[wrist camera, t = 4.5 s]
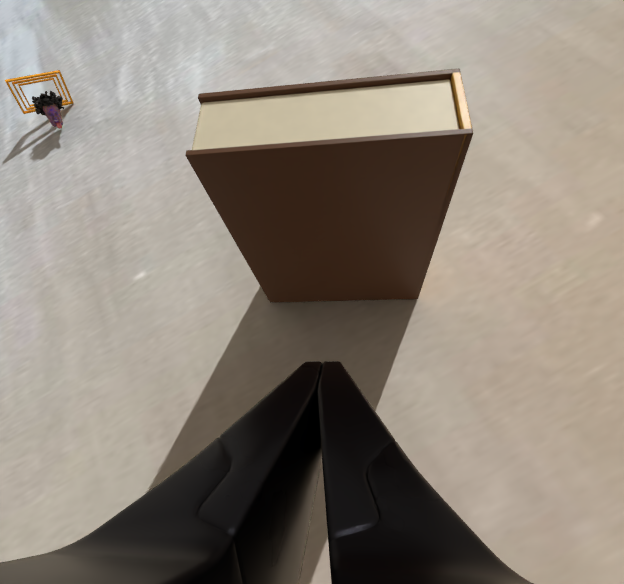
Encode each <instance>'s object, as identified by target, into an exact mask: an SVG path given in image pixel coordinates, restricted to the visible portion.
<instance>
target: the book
mask: <svg viewBox="0 0 624 584" xmlns="http://www.w3.org/2000/svg"><path fill="white" fill-rule="evenodd" d="M198 99H199V101H200V104H201V108H200V113H199V118H198V123H197V128H196V132H195V137H194V142H193V147H192V150H188V151H186V157H187V159H188V161H189V162H190V164H191V166H192V168H193V169H194V171H195V173H196V175H197V176H198V178H199V180H200V181H201V183H202V185H203V187H204V188H205V190H206V192H207V194H208V195H209V197H210V199H211V201H212V202H213V204H214V206H215V208H216V209H217V211H218V213H219V214H220V216H221V218H222V220H223V221H224V223H225V225H226V227H227V228H228V230H229V232H230V234H231V235H232V237H233V239H234V241H235V242H236V244H237V246H238V248H239V249H240V251H241V253H242V254H243V256H244V258H245V260H246V261H247V263H248V265H249V267H250V268H251V270H252V272H253V274H254V275H255V277H256V279H257V281H258V282H259V284H260V286H261V288H262V289H263V291H264V293H265V294H266V296H267V298H268V300H269V301H270V303H272V302H310V301H349V300H387V299H418V297H419V294H420V291H421V288H422V285H423V282H424V279H425V276H426V273H427V270H428V267H429V264H430V261H431V258H432V255H433V252H434V249H435V246H436V243H437V240H438V237H439V234H440V231H441V228H442V225H443V222H444V219H445V216H446V213H447V210H448V207H449V204H450V201H451V198H452V195H453V192H454V189H455V186H456V183H457V180H458V177H459V174H460V171H461V168H462V165H463V162H464V159H465V156H466V153H467V150H468V147H469V144H470V141H471V138H472V135H473V130H472V126H471V121H470V116H469V111H468V107H467V102H466V97H465V92H464V88H463V83H462V78H461V73H460V69H449V70H438V71H428V72H418V73H408V74H397V75H387V76H377V77H367V78H356V79H346V80H336V81H326V82H315V83H305V84H295V85H285V86H274V87H264V88H254V89H244V90H233V91H223V92H213V93H203V94H199V95H198Z"/></svg>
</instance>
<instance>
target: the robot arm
mask: <svg viewBox="0 0 624 584" xmlns="http://www.w3.org/2000/svg"><path fill="white" fill-rule="evenodd" d="M321 458H322V463H323V476H324V489H325V502H326V515H327V529H328V542H329V555H330V568H331V581H332V584H533V583H531V582H529V581H527V580H526V579H524V578H523V577H521V576H520V575H518V574H517V573H516V572H514V571H513V570H512V569H510V568H509V567H508V566H507V565H506V564H504V563H503V562H502V561H501V560H500V559H499V558H498V557H497V556H496V555H495V554H494V553H493V552H492V551H491V550H490V549H489V548H488V547H487V546H486V545H485V544H484V543H483V542H482V541H481V540H480V538H479V537H478V536H477V535H476V534H475V533H474V532H473V531H472V530H471V529H470V528H469V527H468V526H467V524H466V523H465V522H464V521H463V520H462V519H461V518H460V517H459V516H458V515H457V514H456V513H455V511H454V510H453V509H452V508H451V507H450V506H449V505H448V504H447V503H446V502H445V501H444V500H443V499H442V497H441V496H440V495H439V494H438V493H437V492H436V491H435V490H434V489H433V488H432V486H431V485H430V484H429V483H428V482H427V481H426V480H425V478H424V477H423V476H422V475H421V474H420V473H419V472H418V470H417V469H416V468H415V466H414V465H413V464H412V462H411V461H410V460H409V458H408V457H407V456H406V455H405V453H404V452H403V450H402V449H401V447H400V446H399V445H398V443H397V442H396V441H395V439H394V438H393V436H392V435H391V433H390V432H389V431H388V429H387V428H386V426H385V425H384V423H383V422H382V421H381V419H380V418H379V416H378V415H377V414H376V412H375V411H374V409H373V408H372V406H371V405H370V404H369V402H368V401H367V399H366V398H365V396H364V395H363V394H362V392H361V391H360V389H359V388H358V387H357V385H356V384H355V382H354V381H353V379H352V378H351V377H350V375H349V374H348V372H347V371H346V369H345V368H344V367H343V365H342V364H341V363H340V362H338V361H332V362H324V363H323V364H322V363H321V362H305V363H304V364H302V365H301V366H300V367H299V368H298V369H297V370H295V371H294V372H293V373H292V374H291V375H290V376H288V377H287V378H286V379H285V380H284V381H283V382H282V383H280V384H279V385H278V386H277V387H276V388H275V389H273V390H272V391H271V392H270V393H269V394H268V395H267V396H265V397H264V398H263V399H262V400H261V401H260V402H258V403H257V404H256V405H255V406H254V407H253V408H251V409H250V410H249V411H248V412H247V413H246V414H245V415H243V416H242V417H241V418H240V419H239V420H238V421H236V422H235V423H234V424H233V425H232V426H231V427H230V428H228V429H227V430H226V431H225V432H224V433H223V434H221V435H220V438H217V439H215V440H214V441H213V442H212V443H211V444H210V445H209V446H207V447H206V448H205V449H204V450H203V451H201V452H200V453H199V454H198V455H197V456H195V457H194V458H193V459H192V460H190V461H189V462H188V463H187V464H186V465H184V466H183V467H182V468H180V469H179V470H178V471H176V472H175V473H174V474H172V475H171V476H170V477H168V478H167V479H166V480H164V481H163V482H162V483H160V484H159V485H157V486H156V487H155V488H153V489H152V490H150V491H149V492H148V493H146V494H145V495H144V496H142V497H141V498H139V499H138V500H137V501H135V502H134V503H132V504H131V505H130V506H128V507H127V508H125V509H124V510H123V511H121V512H120V513H118V514H117V515H116V516H114V517H113V518H112V519H110V520H109V521H107V522H106V523H105V524H103V525H102V526H100V527H99V528H98V529H96V530H95V531H93V532H92V533H90V534H89V535H87V536H85V537H84V538H82V539H80V540H78V541H76V542H75V543H72V544H70V545H68V546H66V547H63V548H61V549H58V550H55V551H52V552H49V553H46V554H42V555H37V556H32V557H27V558H22V559H17V560H12V561H7V562H1V563H0V584H299V580H300V574H301V569H302V563H303V558H304V553H305V547H306V542H307V536H308V531H309V525H310V520H311V514H312V509H313V503H314V498H315V493H316V487H317V482H318V476H319V471H320V465H321Z"/></svg>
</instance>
